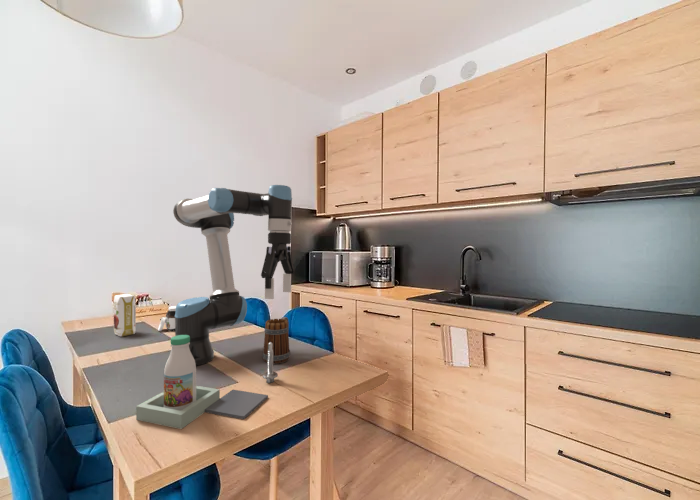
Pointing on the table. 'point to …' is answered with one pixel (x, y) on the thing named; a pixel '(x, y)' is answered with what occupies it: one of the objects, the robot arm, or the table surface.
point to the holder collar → (176, 418)
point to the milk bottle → (180, 375)
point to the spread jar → (168, 320)
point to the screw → (270, 366)
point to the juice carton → (124, 314)
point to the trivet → (236, 404)
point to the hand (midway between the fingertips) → (278, 295)
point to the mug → (277, 340)
